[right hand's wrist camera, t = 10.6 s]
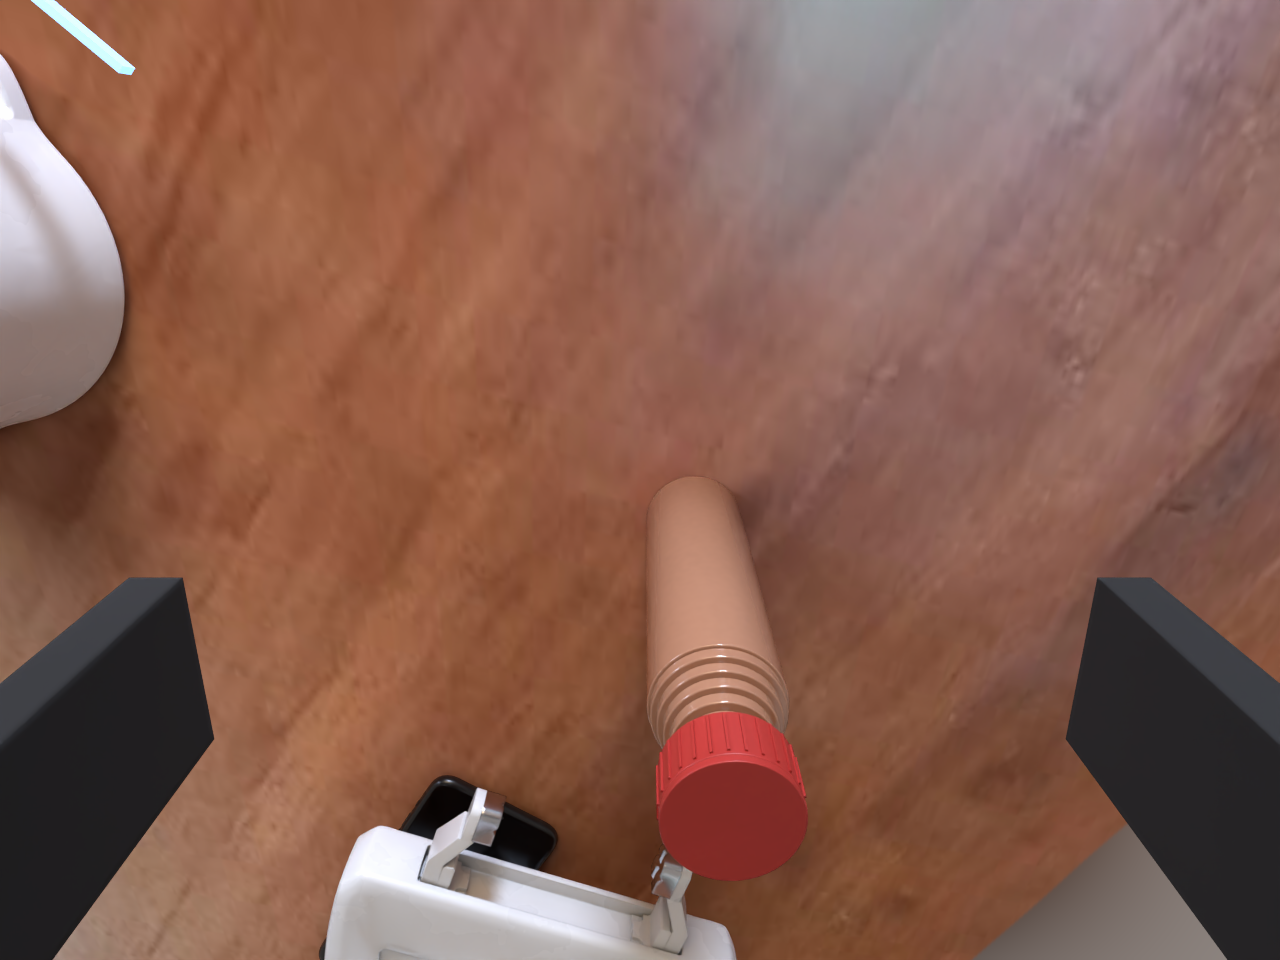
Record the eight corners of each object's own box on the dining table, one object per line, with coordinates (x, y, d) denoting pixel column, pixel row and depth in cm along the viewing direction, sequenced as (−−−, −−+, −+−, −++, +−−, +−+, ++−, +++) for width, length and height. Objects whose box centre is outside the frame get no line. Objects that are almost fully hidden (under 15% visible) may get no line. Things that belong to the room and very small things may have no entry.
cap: (626, 767, 26) (624, 821, 24) (731, 683, 25) (738, 731, 23) (721, 848, 27) (727, 906, 25) (825, 770, 26) (841, 824, 24)
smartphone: (432, 1002, 54) (566, 827, 49) (429, 1016, 53) (564, 839, 48) (315, 950, 53) (441, 764, 48) (310, 962, 52) (437, 775, 47)
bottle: (626, 519, 43) (611, 810, 24) (695, 456, 42) (738, 710, 23) (691, 580, 44) (726, 906, 25) (760, 521, 43) (852, 814, 24)
